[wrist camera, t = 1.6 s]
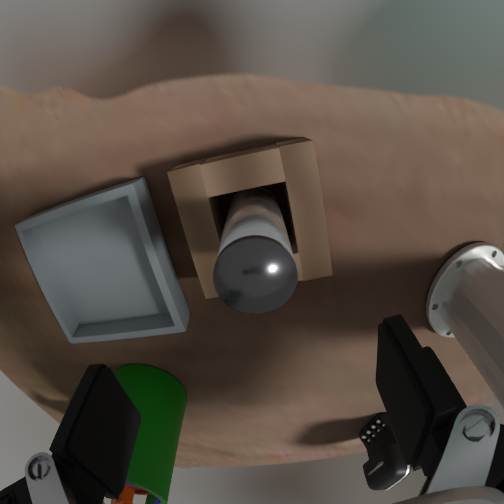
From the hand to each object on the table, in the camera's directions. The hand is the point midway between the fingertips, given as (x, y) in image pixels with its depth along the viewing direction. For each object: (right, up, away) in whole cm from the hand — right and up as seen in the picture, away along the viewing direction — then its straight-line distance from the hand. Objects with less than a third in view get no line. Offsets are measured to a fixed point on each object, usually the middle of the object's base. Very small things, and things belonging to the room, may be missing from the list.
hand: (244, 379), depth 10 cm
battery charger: (+19, -22, +31) cm, 43 cm away
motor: (-13, -13, +28) cm, 33 cm away
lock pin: (+1, +8, +18) cm, 20 cm away
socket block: (+1, +8, +18) cm, 20 cm away
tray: (-15, +3, +20) cm, 25 cm away
